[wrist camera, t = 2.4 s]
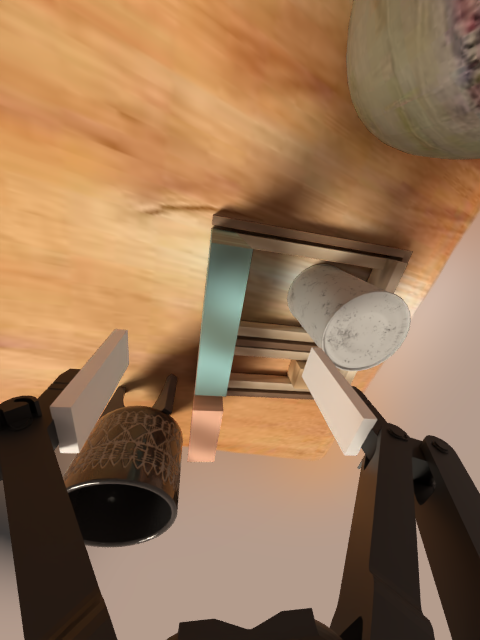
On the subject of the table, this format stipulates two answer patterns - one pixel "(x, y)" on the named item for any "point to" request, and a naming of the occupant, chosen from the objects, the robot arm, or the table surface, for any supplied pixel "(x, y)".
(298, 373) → the oak cube
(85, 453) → the planter
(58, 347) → the table surface
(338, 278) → the speckled stone cylinder
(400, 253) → the guide frame
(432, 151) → the vase
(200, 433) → the cube sled
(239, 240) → the can sled
